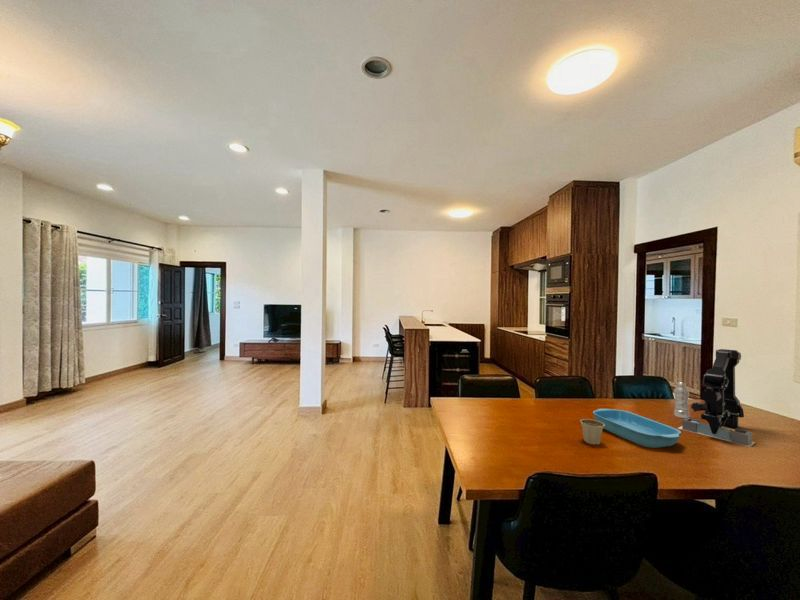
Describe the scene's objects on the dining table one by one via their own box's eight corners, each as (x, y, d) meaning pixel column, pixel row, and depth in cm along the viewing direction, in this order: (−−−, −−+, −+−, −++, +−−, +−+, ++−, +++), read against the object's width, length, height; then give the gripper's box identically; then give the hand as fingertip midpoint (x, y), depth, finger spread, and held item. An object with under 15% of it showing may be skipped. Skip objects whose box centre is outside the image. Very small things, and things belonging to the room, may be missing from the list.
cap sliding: (748, 445, 141) (747, 435, 142) (731, 441, 146) (731, 431, 146) (751, 441, 146) (751, 431, 146) (735, 437, 150) (735, 428, 150)
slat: (691, 428, 161) (691, 420, 161) (731, 438, 150) (731, 429, 150) (689, 429, 159) (689, 421, 159) (729, 440, 148) (729, 431, 148)
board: (683, 426, 166) (683, 424, 166) (755, 444, 146) (755, 442, 146) (677, 429, 161) (677, 428, 161) (750, 448, 141) (750, 446, 141)
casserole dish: (694, 450, 139) (694, 433, 139) (653, 454, 134) (653, 437, 134) (617, 420, 175) (617, 407, 175) (583, 423, 169) (583, 409, 169)
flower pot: (601, 439, 148) (601, 420, 148) (607, 448, 139) (607, 427, 139) (578, 436, 151) (578, 417, 151) (582, 444, 142) (582, 424, 142)
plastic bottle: (692, 420, 175) (692, 383, 175) (678, 419, 176) (678, 382, 177) (684, 417, 181) (684, 381, 182) (671, 416, 183) (671, 380, 183)
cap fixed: (687, 426, 164) (687, 417, 164) (701, 429, 160) (701, 420, 160) (682, 429, 160) (682, 420, 160) (696, 432, 156) (696, 423, 156)
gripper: (699, 393, 165) (699, 423, 165) (686, 398, 155) (686, 431, 154) (729, 398, 156) (730, 431, 155) (718, 404, 145) (718, 439, 145)
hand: (715, 432), depth 153 cm, fingers open, 5 cm apart
